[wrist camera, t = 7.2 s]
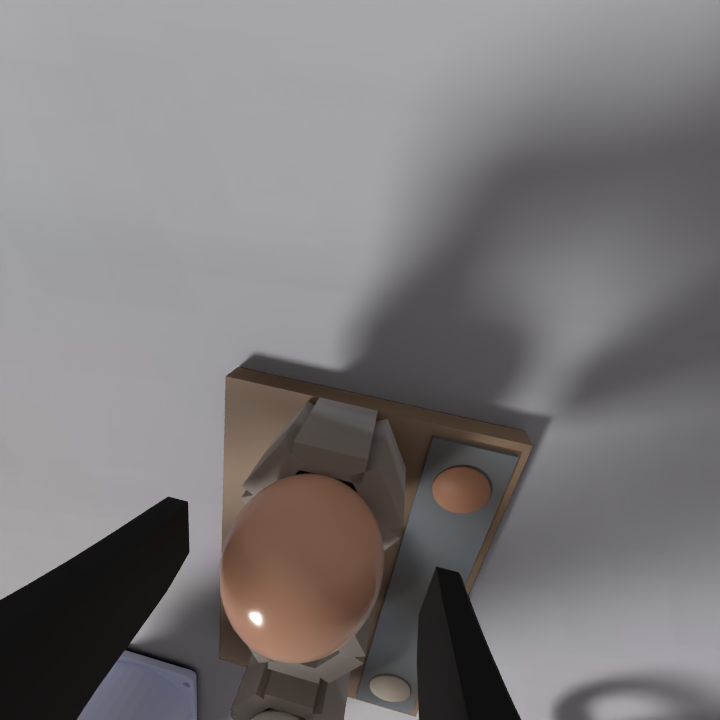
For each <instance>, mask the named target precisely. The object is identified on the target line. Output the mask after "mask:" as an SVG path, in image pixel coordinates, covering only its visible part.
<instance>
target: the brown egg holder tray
mask: <svg viewBox="0 0 720 720" xmlns="http://www.w3.org/2000/svg"><path fill="white" fill-rule="evenodd" d="M532 447H533V445H532V443H531V442H530V440H529V438H528V436H527V434H526V433H525V431H521V430H517V429H513V428H508V427H504V426H499V425H495V424H490V423H486V422H481V421H477V420H472V419H468V418H463V417H459V416H454V415H450V414H446V413H441V412H437V411H432V410H428V409H423V408H419V407H414V406H410V405H405V404H401V403H396V402H392V401H387V400H383V399H379V398H374V397H370V396H365V395H361V394H356V393H352V392H347V391H343V390H338V389H334V388H329V387H325V386H320V385H316V384H311V383H307V382H303V381H298V380H294V379H289V378H285V377H280V376H276V375H271V374H267V373H262V372H258V371H253V370H249V369H244V368H240V367H237V368H236V369H235V370H233V371H232V372H231V373H230V374H228V375H227V376H226V391H225V433H224V476H223V518H222V550H223V547H224V543H225V540H226V538H227V535H228V532H229V530H230V528H231V526H232V524H233V522H234V521H235V519H236V517H237V516H238V514H239V513H240V511H241V510H242V509H243V507H244V506H245V505H246V504H247V503H248V502H249V501H250V500H251V499H252V498H253V497H254V496H255V495H256V494H257V493H258V492H260V491H261V490H262V489H264V488H265V487H267V486H268V485H270V484H272V483H274V482H276V481H278V480H280V479H282V478H286V477H289V476H293V475H298V474H319V475H324V476H328V477H331V478H334V479H336V480H339V481H341V482H342V483H344V484H346V485H348V486H349V487H350V488H352V489H353V490H354V491H355V492H357V493H358V494H359V496H360V497H361V498H362V499H363V500H364V501H365V502H366V504H367V505H368V506H369V508H370V510H371V511H372V513H373V515H374V517H375V519H376V521H377V524H378V527H379V530H380V533H381V536H382V542H383V548H384V573H383V580H382V585H381V589H380V593H379V596H378V599H377V601H376V604H375V606H374V608H373V610H372V613H371V614H370V616H369V617H368V619H367V621H366V622H365V624H364V625H363V627H362V628H361V629H360V630H359V632H358V633H357V634H356V635H355V636H354V637H353V638H352V639H351V640H350V641H349V642H348V643H347V644H345V645H344V646H343V647H341V648H340V649H339V650H338V651H336V652H334V653H332V654H330V655H328V656H326V657H324V658H322V659H319V660H315V661H311V662H307V663H300V664H292V663H283V662H278V661H275V660H271V659H269V658H267V657H264V656H262V655H261V654H259V653H257V652H255V651H254V650H253V649H251V648H250V647H249V646H248V645H247V644H246V643H245V642H244V641H243V640H242V639H241V638H240V637H239V635H238V634H237V633H236V632H235V630H234V629H233V627H232V625H231V623H230V621H229V619H228V617H227V615H226V612H225V609H224V606H223V602H222V598H221V602H220V645H219V659H223V660H226V661H229V662H233V663H236V664H239V665H243V666H246V667H247V669H246V671H245V674H244V677H243V679H242V682H241V684H240V687H239V690H238V692H237V695H236V697H235V700H234V703H233V705H232V708H231V711H232V712H231V715H230V716H231V717H232V718H233V720H251V719H252V718H253V717H255V716H256V715H257V714H259V713H261V712H263V711H265V710H268V709H271V708H273V709H276V710H279V711H283V712H286V713H289V714H292V715H296V716H299V717H302V718H304V719H305V720H344V714H345V707H346V700H347V697H351V698H354V699H357V700H361V701H364V702H368V703H371V704H374V705H378V706H381V707H384V708H388V709H391V710H394V711H398V712H401V713H405V714H408V715H411V716H415V717H416V714H417V712H418V710H419V705H418V683H417V638H418V617H419V612H420V609H421V607H422V604H423V601H424V598H425V596H426V593H427V590H428V587H429V585H430V582H431V579H432V576H433V574H434V571H435V568H436V566H437V567H441V568H444V569H448V570H452V571H456V572H459V573H460V575H461V577H462V579H463V582H464V585H465V588H466V591H467V593H468V594H469V592H470V590H471V588H472V585H473V583H474V581H475V578H476V576H477V574H478V571H479V569H480V567H481V564H482V562H483V560H484V558H485V555H486V553H487V551H488V548H489V546H490V544H491V541H492V539H493V537H494V534H495V532H496V530H497V528H498V525H499V523H500V521H501V518H502V516H503V514H504V511H505V509H506V507H507V505H508V502H509V500H510V498H511V495H512V493H513V491H514V488H515V486H516V484H517V481H518V479H519V477H520V475H521V472H522V470H523V468H524V465H525V463H526V461H527V458H528V456H529V454H530V452H531V449H532Z"/></svg>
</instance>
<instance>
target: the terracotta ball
mask: <svg viewBox="0 0 720 720" xmlns="http://www.w3.org/2000/svg"><path fill="white" fill-rule="evenodd" d="M383 573H384V548H383V542H382V536H381V533H380V530H379V527H378V524H377V521H376V519H375V517H374V515H373V513H372V511H371V510H370V508H369V506H368V505H367V504H366V502H365V501H364V500H363V499H362V498H361V497H360V496H359V494H358V493H357V492H355V491H354V490H353V489H352V488H350V487H349V486H348V485H346V484H344V483H342V482H341V481H339V480H336V479H334V478H331V477H328V476H324V475H319V474H298V475H293V476H289V477H286V478H282V479H280V480H278V481H276V482H274V483H272V484H270V485H268V486H267V487H265V488H264V489H262V490H261V491H260V492H258V493H257V494H256V495H255V496H254V497H253V498H252V499H251V500H250V501H249V502H248V503H247V504H246V505H245V506H244V507H243V509H242V510H241V511H240V513H239V514H238V516H237V517H236V519H235V521H234V522H233V524H232V526H231V528H230V530H229V532H228V535H227V538H226V540H225V543H224V547H223V550H222V555H221V560H220V571H219V583H220V593H221V598H222V602H223V606H224V609H225V612H226V615H227V617H228V619H229V621H230V623H231V625H232V627H233V629H234V630H235V632H236V633H237V634H238V635H239V637H240V638H241V639H242V640H243V641H244V642H245V643H246V644H247V645H248V646H249V647H250V648H251V649H253V650H254V651H255V652H257V653H259V654H261V655H262V656H264V657H267V658H269V659H271V660H275V661H278V662H283V663H292V664H300V663H307V662H311V661H315V660H319V659H322V658H324V657H326V656H328V655H330V654H332V653H334V652H336V651H338V650H339V649H340V648H341V647H343V646H344V645H345V644H347V643H348V642H349V641H350V640H351V639H352V638H353V637H354V636H355V635H356V634H357V633H358V632H359V630H360V629H361V628H362V627H363V625H364V624H365V622H366V621H367V619H368V617H369V616H370V614H371V613H372V610H373V608H374V606H375V604H376V601H377V599H378V596H379V593H380V589H381V585H382V580H383Z"/></svg>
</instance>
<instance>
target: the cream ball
mask: <svg viewBox="0 0 720 720" xmlns="http://www.w3.org/2000/svg"><path fill="white" fill-rule="evenodd" d="M251 720H305V719H304V718H302V717H299V716H296V715H292V714H289V713H286V712H283V711H279V710H276V709H273V708H271V709H268V710H265V711H263V712H261V713H259V714H257V715H256V716H255V717H253V718H252V719H251Z"/></svg>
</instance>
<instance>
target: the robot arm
mask: <svg viewBox="0 0 720 720" xmlns="http://www.w3.org/2000/svg"><path fill="white" fill-rule="evenodd" d="M188 554H189V522H188V502H187V501H183V500H179V499H175V498H171V497H167V498H165V499H164V500H162V501H161V502H159V503H158V504H156V505H154V506H153V507H151V508H150V509H148V510H147V511H145V512H144V513H142V514H141V515H139V516H138V517H136V518H135V519H133V520H131V521H130V522H128V523H127V524H125V525H124V526H122V527H121V528H119V529H118V530H116V531H115V532H113V533H111V534H110V535H108V536H107V537H105V538H104V539H102V540H100V541H99V542H97V543H96V544H94V545H92V546H91V547H89V548H88V549H86V550H85V551H83V552H81V553H80V554H78V555H77V556H75V557H73V558H72V559H70V560H68V561H67V562H65V563H63V564H62V565H60V566H58V567H57V568H55V569H53V570H52V571H50V572H48V573H46V574H45V575H43V576H41V577H40V578H38V579H36V580H35V581H33V582H31V583H30V584H28V585H26V586H24V587H23V588H21V589H19V590H17V591H16V592H14V593H12V594H10V595H8V596H7V597H5V598H3V599H1V600H0V720H197V683H196V674H195V672H193V671H192V670H189V669H186V668H183V667H179V666H176V665H173V664H169V663H166V662H163V661H159V660H156V659H153V658H149V657H146V656H143V655H140V654H136V653H133V652H130V651H126V650H125V649H126V648H127V646H128V645H129V644H130V642H131V641H132V639H133V638H134V637H135V635H136V634H137V633H138V631H139V630H140V628H141V627H142V626H143V624H144V623H145V621H146V620H147V619H148V617H149V616H150V614H151V613H152V611H153V610H154V609H155V607H156V606H157V604H158V603H159V602H160V600H161V599H162V597H163V596H164V594H165V593H166V592H167V590H168V588H169V587H170V585H171V583H172V582H173V580H174V578H175V577H176V575H177V573H178V571H179V570H180V568H181V566H182V564H183V562H184V561H185V559H186V557H187V555H188ZM417 683H418V705H419V720H521V718H520V716H519V714H518V712H517V710H516V708H515V706H514V704H513V701H512V699H511V697H510V695H509V693H508V691H507V688H506V686H505V684H504V682H503V679H502V677H501V675H500V672H499V670H498V668H497V666H496V663H495V661H494V659H493V656H492V654H491V652H490V649H489V647H488V645H487V642H486V640H485V637H484V635H483V632H482V630H481V627H480V625H479V622H478V620H477V617H476V615H475V612H474V609H473V607H472V604H471V602H470V599H469V596H468V593H467V591H466V588H465V585H464V582H463V579H462V577H461V575H460V573H459V572H456V571H452V570H448V569H444V568H441V567H437V566H436V568H435V571H434V574H433V576H432V579H431V582H430V585H429V587H428V590H427V593H426V596H425V598H424V601H423V604H422V607H421V609H420V612H419V617H418V638H417Z"/></svg>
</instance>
